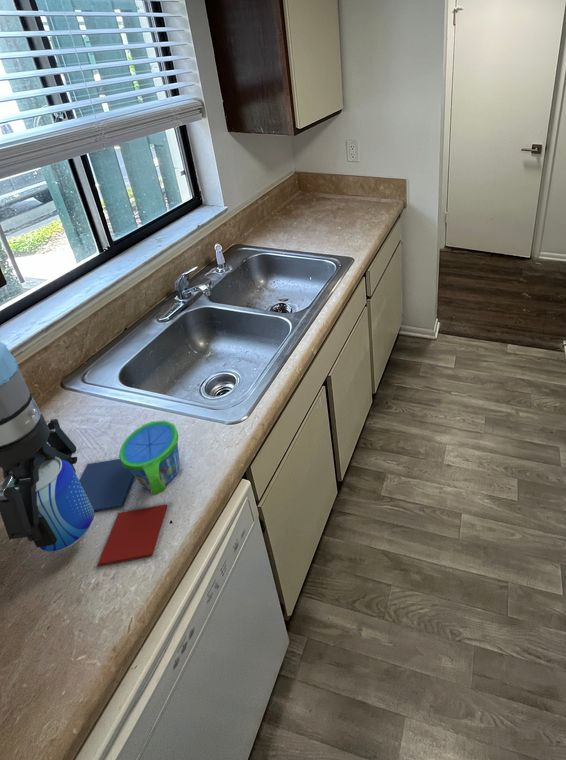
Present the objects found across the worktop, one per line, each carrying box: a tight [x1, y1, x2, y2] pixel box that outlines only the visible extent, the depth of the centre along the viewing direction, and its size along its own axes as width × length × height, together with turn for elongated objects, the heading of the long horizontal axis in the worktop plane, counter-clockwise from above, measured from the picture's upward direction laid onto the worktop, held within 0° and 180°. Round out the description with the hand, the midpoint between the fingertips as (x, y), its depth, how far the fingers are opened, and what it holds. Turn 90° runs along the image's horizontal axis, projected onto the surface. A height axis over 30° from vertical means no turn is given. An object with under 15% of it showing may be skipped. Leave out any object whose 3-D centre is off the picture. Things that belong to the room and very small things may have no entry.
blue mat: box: [79, 458, 135, 513], centre depth 91 cm, size 11×11×1 cm
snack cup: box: [119, 420, 180, 496], centre depth 92 cm, size 16×10×10 cm
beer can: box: [20, 457, 95, 553], centre depth 77 cm, size 8×8×16 cm
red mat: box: [97, 504, 168, 567], centre depth 83 cm, size 9×9×1 cm
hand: (61, 516), depth 78 cm, fingers closed on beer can, 8 cm apart
